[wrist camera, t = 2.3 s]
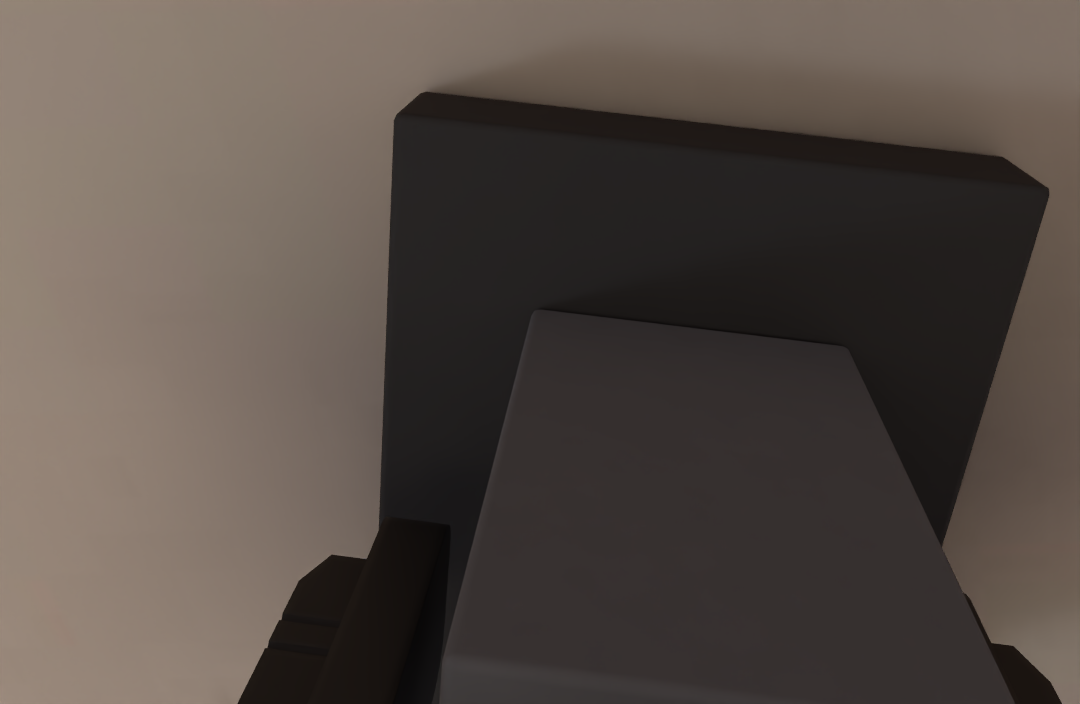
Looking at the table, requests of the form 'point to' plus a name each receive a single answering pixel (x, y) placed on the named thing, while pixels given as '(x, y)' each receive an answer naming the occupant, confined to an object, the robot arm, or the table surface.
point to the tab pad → (683, 255)
